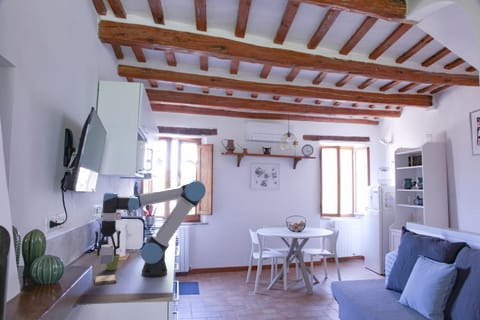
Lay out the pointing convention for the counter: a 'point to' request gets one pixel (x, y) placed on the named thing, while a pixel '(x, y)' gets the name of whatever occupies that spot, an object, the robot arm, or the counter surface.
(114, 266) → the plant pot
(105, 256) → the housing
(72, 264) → the counter surface
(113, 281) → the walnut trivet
